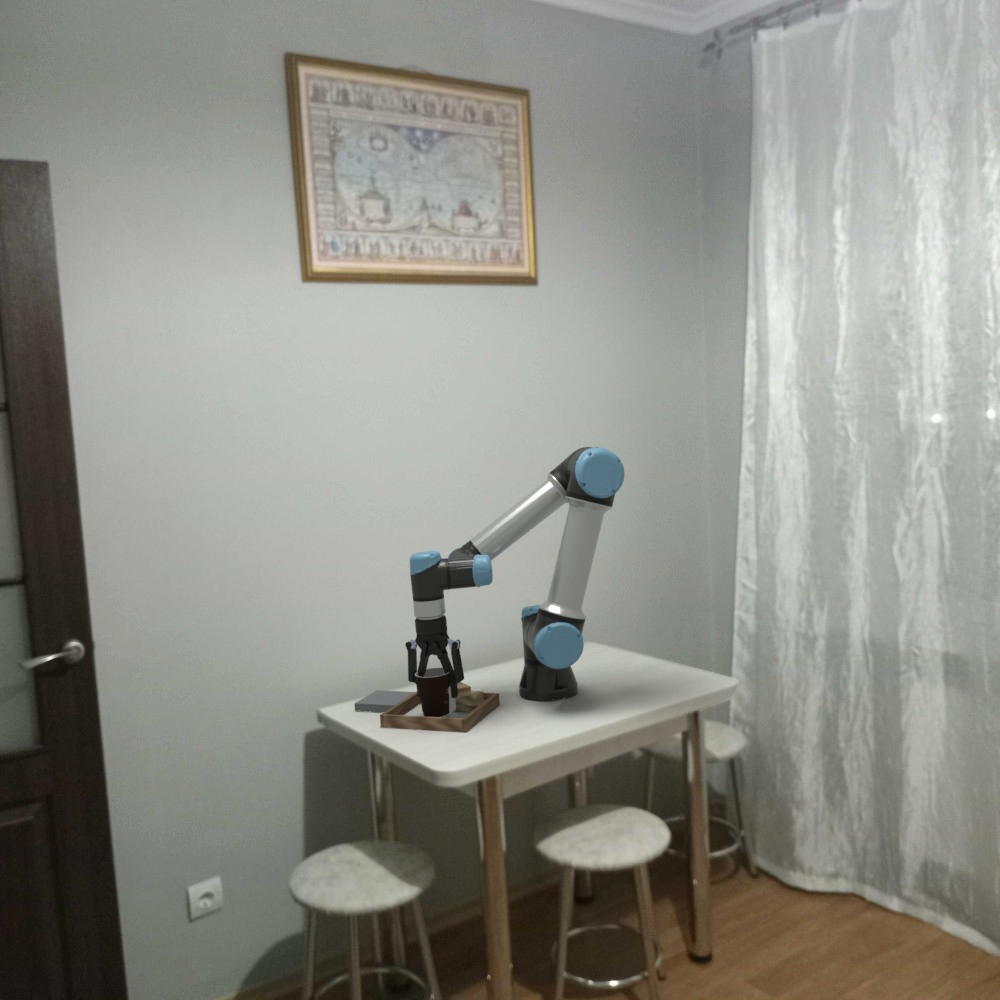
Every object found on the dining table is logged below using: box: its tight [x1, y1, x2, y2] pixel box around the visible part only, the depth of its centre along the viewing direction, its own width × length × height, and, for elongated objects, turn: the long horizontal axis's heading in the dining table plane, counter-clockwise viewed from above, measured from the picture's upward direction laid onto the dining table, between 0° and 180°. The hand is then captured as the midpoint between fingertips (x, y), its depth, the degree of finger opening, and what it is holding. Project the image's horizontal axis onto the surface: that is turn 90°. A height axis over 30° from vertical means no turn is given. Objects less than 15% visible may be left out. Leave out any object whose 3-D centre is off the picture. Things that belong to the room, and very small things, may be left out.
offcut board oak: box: [455, 700, 486, 713], centre depth 246 cm, size 16×5×2 cm, turn 64°
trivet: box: [353, 690, 416, 713], centre depth 252 cm, size 12×12×2 cm
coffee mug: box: [415, 667, 450, 717], centre depth 237 cm, size 12×9×10 cm
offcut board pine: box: [455, 689, 484, 706], centre depth 246 cm, size 14×5×2 cm, turn 60°
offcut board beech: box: [456, 681, 472, 698], centre depth 246 cm, size 10×4×2 cm, turn 29°
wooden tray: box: [379, 690, 501, 733], centre depth 240 cm, size 22×22×3 cm
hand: (439, 710), depth 237 cm, fingers closed on coffee mug, 6 cm apart
